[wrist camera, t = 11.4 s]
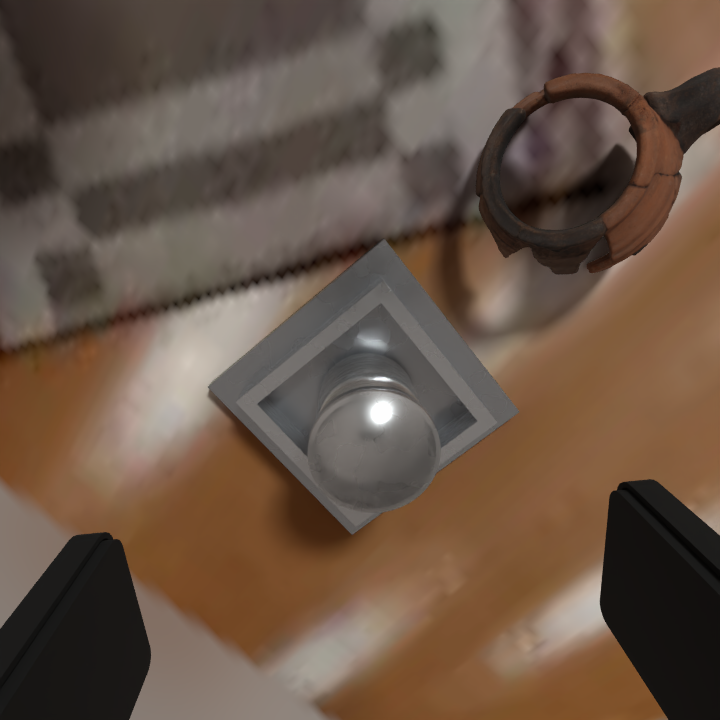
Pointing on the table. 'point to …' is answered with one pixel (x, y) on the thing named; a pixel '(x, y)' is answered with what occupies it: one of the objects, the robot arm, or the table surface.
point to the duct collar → (355, 336)
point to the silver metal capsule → (371, 436)
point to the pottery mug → (645, 189)
